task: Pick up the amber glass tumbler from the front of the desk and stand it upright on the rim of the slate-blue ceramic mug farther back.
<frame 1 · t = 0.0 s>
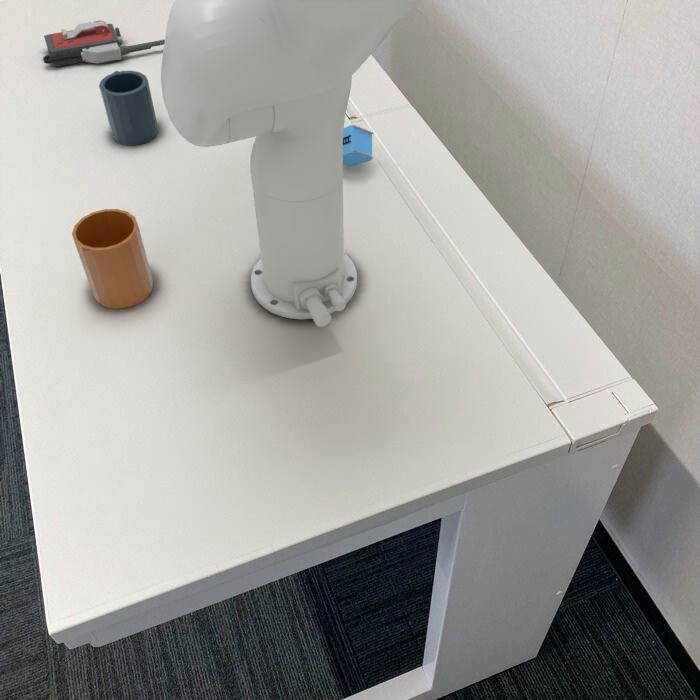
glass: (123, 287, 92), on the table
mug: (135, 132, 114), on the table
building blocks: (324, 158, 109), on the table
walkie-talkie: (105, 53, 130), on the table
fruit basket: (245, 86, 122), on the table
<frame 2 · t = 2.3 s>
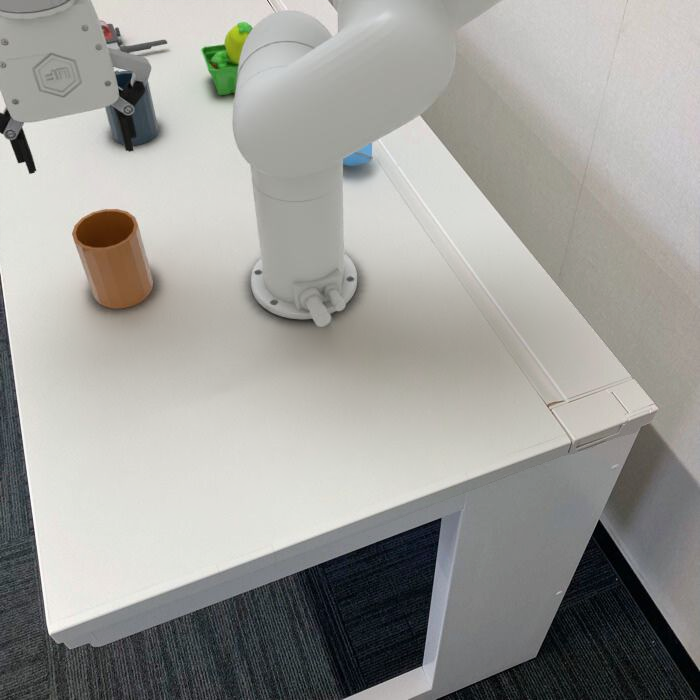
hand: (80, 155, 78), 18 cm above the table, tool pointing down, fingers open, 9 cm apart
nothing on the table moved.
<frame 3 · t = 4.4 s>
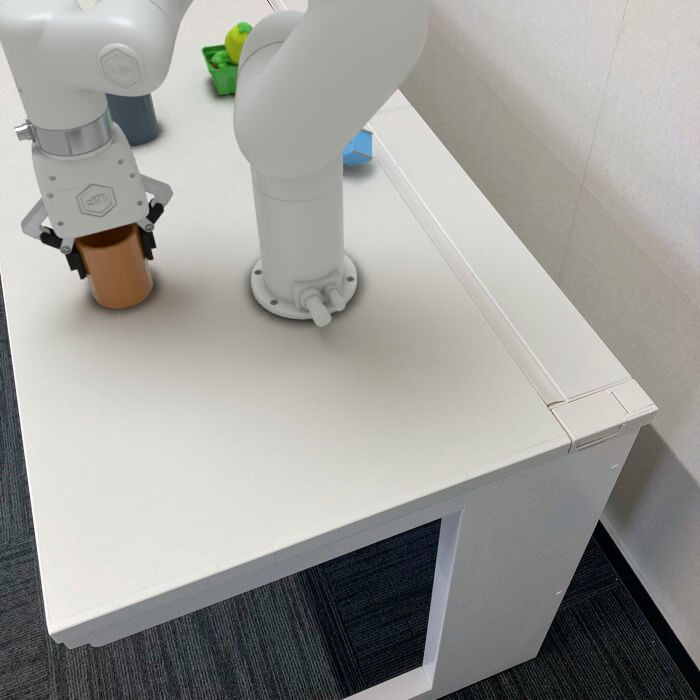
hand: (115, 261, 89), 4 cm above the table, tool pointing down, fingers closed on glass, 7 cm apart
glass: (123, 287, 92), on the table, touching gripper
everything else where it was.
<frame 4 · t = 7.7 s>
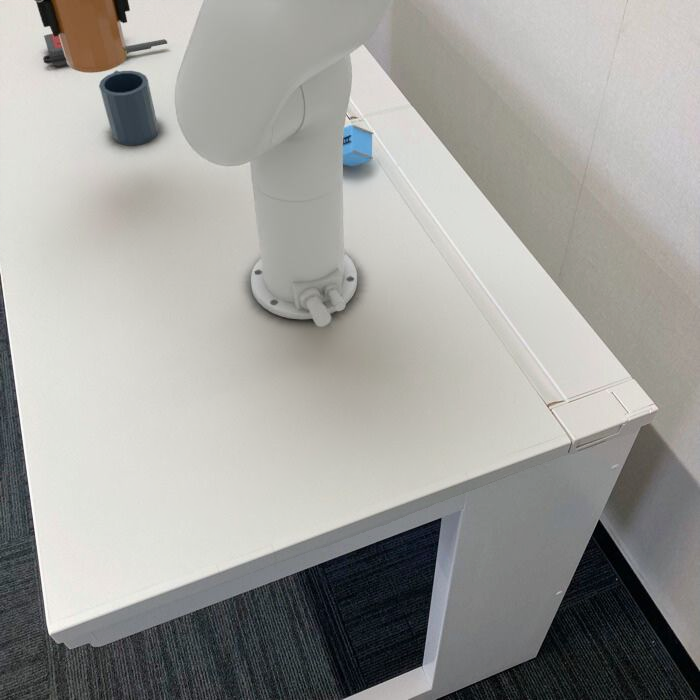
hand: (88, 23, 89), 22 cm above the table, tool pointing down, fingers closed on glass, 7 cm apart
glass: (97, 57, 92), point 18 cm above the table, touching gripper
everything else where it was.
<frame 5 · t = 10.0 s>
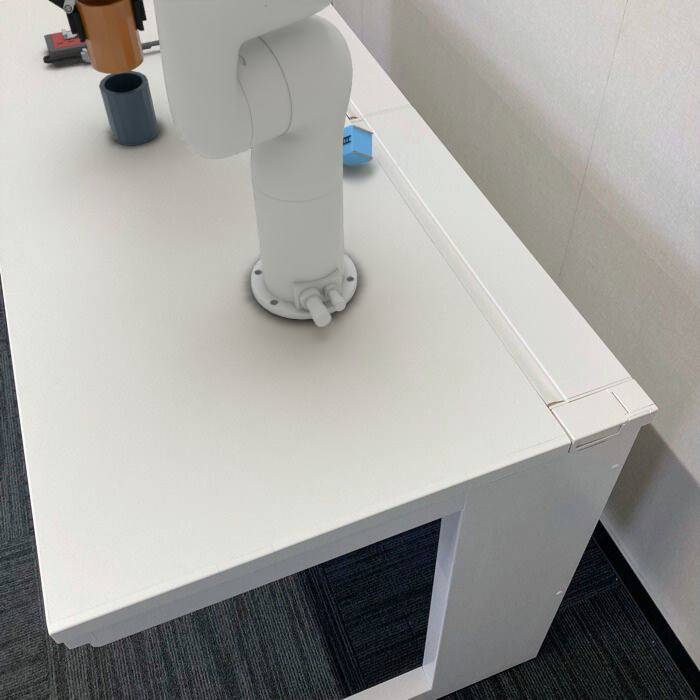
hand: (110, 31, 102), 15 cm above the table, tool pointing down, fingers closed on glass, 7 cm apart
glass: (117, 60, 105), point 11 cm above the table, touching gripper
everything else where it was.
when the fingers open (12 cm above the table, at t = 11.4 s): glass stays where it is, resting on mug.
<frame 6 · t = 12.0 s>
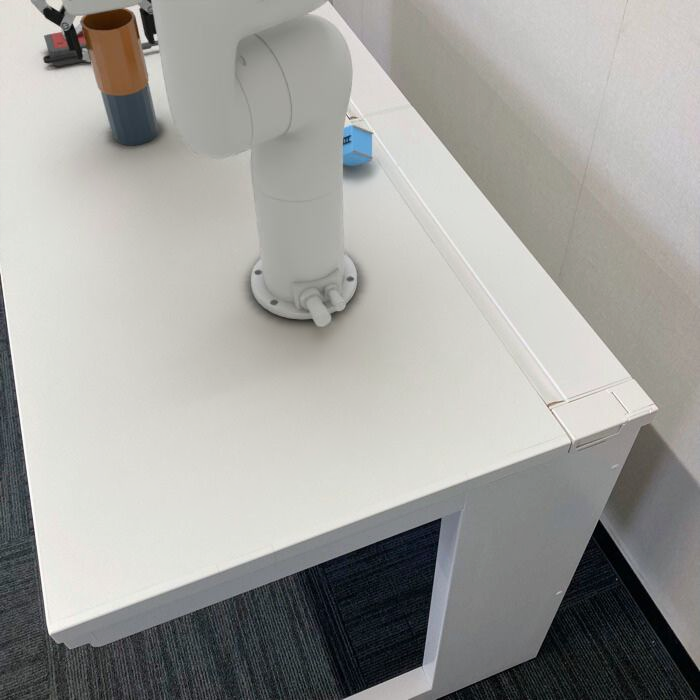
hand: (114, 47, 104), 13 cm above the table, tool pointing down, fingers open, 9 cm apart
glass: (123, 82, 108), point 8 cm above the table, touching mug
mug: (135, 132, 114), on the table, touching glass
everything else where it was.
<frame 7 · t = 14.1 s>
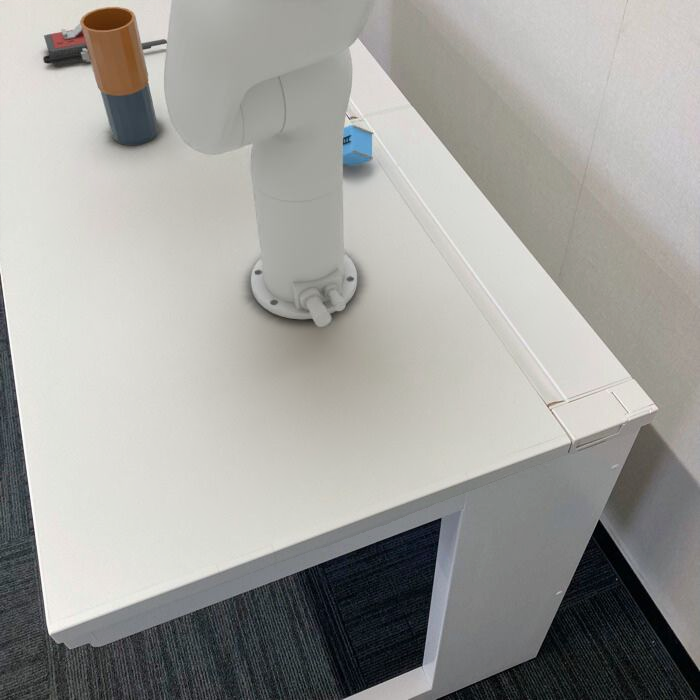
nothing on the table moved.
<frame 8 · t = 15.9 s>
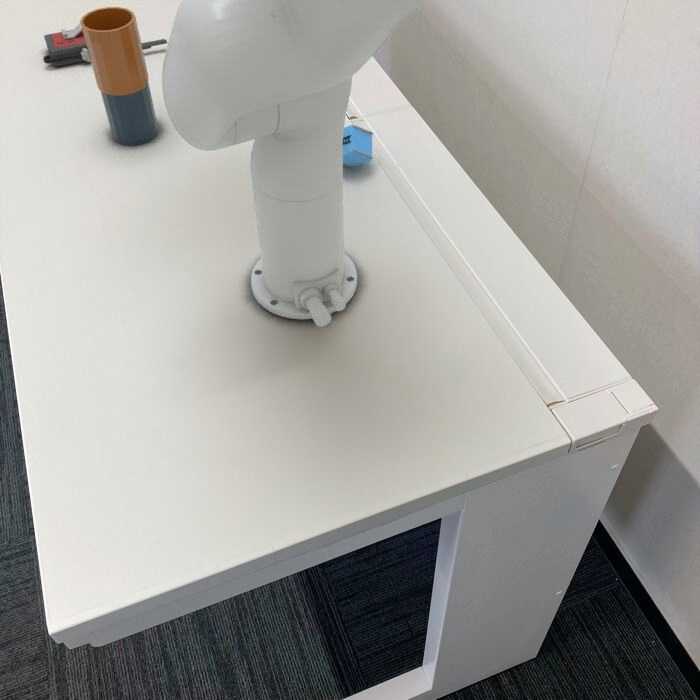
nothing on the table moved.
at the end: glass 0.0 cm off-centre on the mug, point 8.0 cm above the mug's base; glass tilted 0°; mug tilted 0° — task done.
